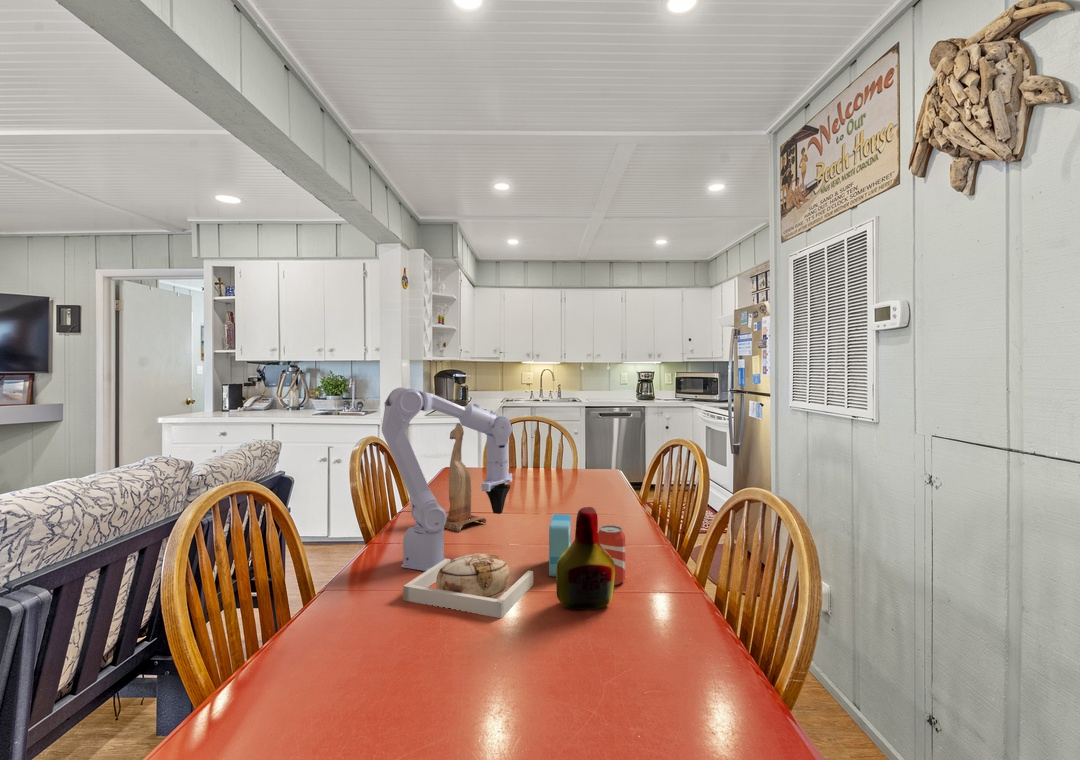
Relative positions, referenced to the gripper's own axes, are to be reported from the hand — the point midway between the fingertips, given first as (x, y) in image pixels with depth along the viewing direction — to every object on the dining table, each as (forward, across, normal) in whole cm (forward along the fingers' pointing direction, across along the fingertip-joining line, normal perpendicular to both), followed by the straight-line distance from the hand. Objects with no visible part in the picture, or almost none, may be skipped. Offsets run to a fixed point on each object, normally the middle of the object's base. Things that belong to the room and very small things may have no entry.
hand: (497, 513), depth 136 cm
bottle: (+11, -22, -30) cm, 39 cm away
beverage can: (+11, -8, -32) cm, 35 cm away
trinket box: (+11, -24, -6) cm, 27 cm away
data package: (+11, -5, -19) cm, 22 cm away
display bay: (+10, -25, -5) cm, 28 cm away
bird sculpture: (+11, +18, +21) cm, 30 cm away
